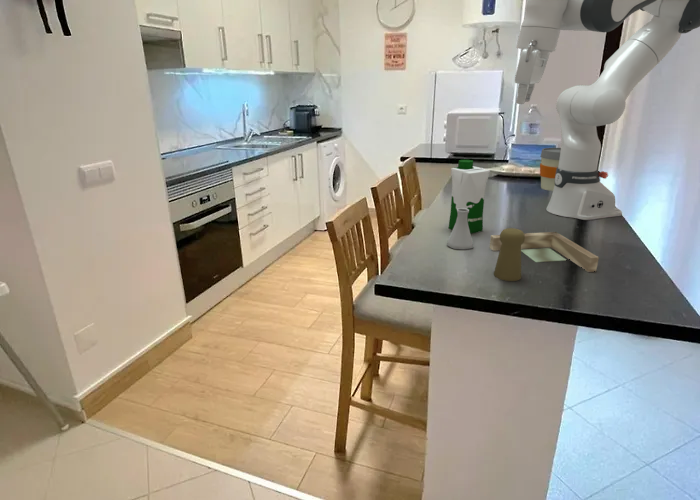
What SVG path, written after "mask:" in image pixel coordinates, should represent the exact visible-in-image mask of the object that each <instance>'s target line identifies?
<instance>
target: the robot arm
mask: <svg viewBox="0 0 700 500" xmlns="http://www.w3.org/2000/svg"><path fill="white" fill-rule="evenodd" d="M637 11H642V12H647V13H649V15H652V16H653V17H651V19H650V21H649V22H647V23H645V24H644V25H643V26H641V27H640V28H639V29H638V30H637V31H636V32H634V33H633V34H632V35H631V36H630V37H629V38H628V39H627V40H626V41H625V42H624V43H623V44H622V45H621V46H620V47H619V48H618V49H617V50H616V51H615V52H614V53H613V54H612V55H611V56H610V57H609V58H608V59H607V60H606V61H605V63H604V66H603V71H602V72H601V74H600V75H599V77H598V78H597V80H596V81H595V82H593V83H592V84H590V85H586V84H585V85H583V84H581V85H580V84H579V85H574V86H571V87H568V88H566V89H565V90H563V91H562V92H561V93H560V94H559V95H558V96H557V99H556V103H555V109H556V112H557V113H558V117H559V123H560V133H561V136H560V137H561V143H560V144H561V145H560V148H561V152H560V159H559V166H558V167H557V169H556V174H555V186H554V190H553V191H552V194H551V197H550V199H549V202H548V204H547V206H546V211H547V212H548V213H550V214H553V215H558V216H561V217H565V218H566V217H567V218H572V219H573V218H575V219H579V220H583V221H589V220H590V221H591V220H598V219H604V218H606V219H607V218H611V217H620V216H622V215H623V212H622V210H621V209H619V208H618V207H616V196H615V194H614V192H612V191H611V190H610V189H609V188H608V187H606V186H605V185H604V184H603V183H602V182H601V179H600V178H602V179H603V180H604V179H605V180H606V179H607V178H608V176H609V173H608V172H607V171H603V170H602V171H600V170H598V164H599V160H600V155H601V149H602V148H601V147H602V144H601V141H600V139H599V136H598V130H597V127H600V126H606V125H611V124H613V123H615V122H617V121H618V120H620V118H621V117H622V116H623V114H624V112H625V109H626V105H627V104H626V102H627V98H628V97H629V95H631V93H632V91H633V90H634V89H635V87H636V86H637V85H638V84H639V83H640V82H641V81H642V80H643V79H644V78H645V77H646V76H648V74H649V73H650V72H651V71H652V70H653V69H654V68H656V67H657V65H658V64H660V62H661V61H663V59H664V58H665V57H666V56H667V55H668V54H669V53H670V52H671V50H672V48H673V47H674V46H675V45H676V44H677V42H678V41H679V39H680V38H681V35H682V34H687V33H690V32H691V31H693V30H694V29H697V28H700V0H526V2H525V16H524V18H523V21H522V23H521V24H520V30H519V35H518V39H517V43H516V48H517V49H520V54H519V56H520V57H519V59H518V64H517V68H516V73H515V76H514V83H515V84H518V87H517V98H516V101H515V103H516V105H524V104H525V103H529V102H530V101H531V99H532V94H533V92H534V89H535V86H536V84H538V83H540V82H541V80H542V78H543V75H544V72H545V69H546V66H547V63H548V61H549V57H550V54H551V53H553V52H556V50H557V45H558V42H559V38H560V33H561V31H581V32H582V31H585V32H588V31H592V32H598V33H609V32H612V31H614V30H615V29H616V28H618V27H619V26H620V25H621V24H622V23H623V22H624V21H625V20H627V18H628V17H630V16H631V15H632V14H634V13H635V12H637Z"/></svg>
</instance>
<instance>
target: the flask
mask: <svg viewBox="0 0 700 500" xmlns="http://www.w3.org/2000/svg"><path fill="white" fill-rule="evenodd" d="M457 212H458V216H457V220H456V223H455V226H454V228H453V230H451V233H450V235H449V237H448V239H447V242H446V246H447V247H449V248H451V249H454V250H469V249H473V248H474V242H473V238H472V234H470V230H469V226H468V219H467V216H468V213H469V209H466V208H459V209H457Z"/></svg>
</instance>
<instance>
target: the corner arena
mask: <svg viewBox="0 0 700 500" xmlns="http://www.w3.org/2000/svg"><path fill="white" fill-rule="evenodd" d="M524 234H525V240H524V243H523V244H522V245H521V253H523V254H524V255H526V257H527V258H529V259H530V260H532V261H533V262H534V263H546V262H547V263H548V262H549V263H550V262H567V261H566V260H567V259H568V260H569V259H570V260H569V261H571V262H573V263H574V264H575V265H577V266H578V267H580V268H581V267H582V268H581V269H582V270H584V269H585V270H584V271H586V272H587V273H589V272H590V273H593V272H594V271H595V272H597V268H598V264H599V259H600V257H599V256H597V255H596V254H594V253H593V252H592V251H589V250H587V249H586V248H584V247H582V246H581V245H579V244H577V243H576V242H574V241H572V240H570V239H569V238H567V237H565V236H564V235H562V234H560V233H558V232H557V231H550V232H549V231H546V232H543V231H542V232H527V233H524ZM501 244H502V243H501V241H500V234H493V235H492V234H491V235H490V241H489V249H490V250H491V251H494V252H495V251H500V248H501ZM554 250H555V251H554ZM561 255H562V256H561Z"/></svg>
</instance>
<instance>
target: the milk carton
mask: <svg viewBox="0 0 700 500" xmlns="http://www.w3.org/2000/svg"><path fill="white" fill-rule="evenodd" d="M450 170H451V180H452V181H451V183H452V184H451V187H452V188H451V202H450V213H449V220H448V227H447V228H448V229H449V230H451V231H452V230H453V228H454V226H455V223H456V220H457V216H458V212H457V209H459V208H466V209H469V213H468V216H467V219H468V226H469V230H470V234H471V235H472V234H475V233H480V232H483V231H484V230H483V228H484V226H483V225H484V223H483V222H484V221H483V219H484V217H483V215H484V207H485V206H484V204H485V196H486V186H487V182H488V179H489V176H490V173H491V170H490V169H485V168H483V167H479V166H474V160H473V159H459V160H458V166H457V167H452V168H450Z"/></svg>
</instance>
